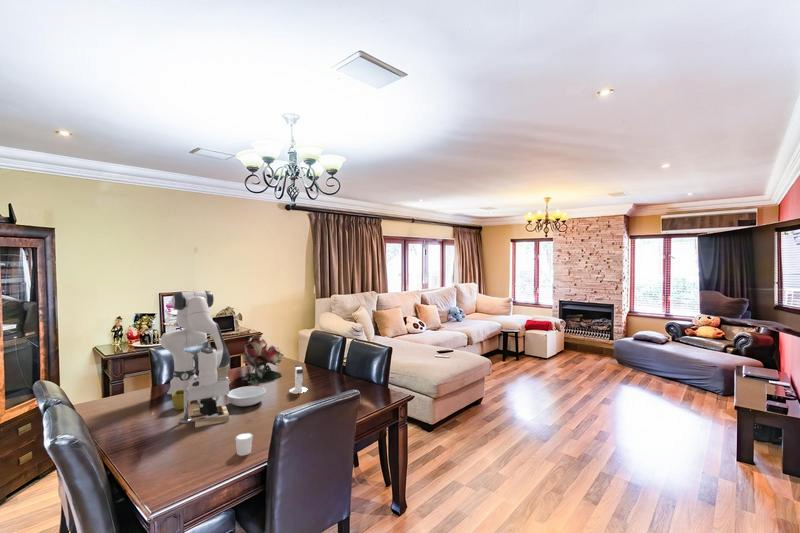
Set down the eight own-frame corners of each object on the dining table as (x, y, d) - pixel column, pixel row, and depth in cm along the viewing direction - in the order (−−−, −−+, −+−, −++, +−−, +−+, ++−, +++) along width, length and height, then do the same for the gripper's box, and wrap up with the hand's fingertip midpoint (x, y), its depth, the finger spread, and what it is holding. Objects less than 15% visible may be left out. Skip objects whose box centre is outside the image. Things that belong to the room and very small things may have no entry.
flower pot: (171, 411, 208) (171, 395, 208) (176, 406, 217) (176, 390, 216) (189, 410, 211) (189, 394, 210) (193, 404, 219) (193, 388, 219)
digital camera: (220, 411, 199) (217, 398, 198) (209, 416, 194) (207, 403, 194) (210, 408, 205) (208, 396, 205) (200, 413, 201) (198, 400, 200)
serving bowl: (252, 412, 209) (252, 399, 208) (218, 408, 213) (218, 396, 213) (272, 398, 229) (272, 387, 229) (241, 395, 233) (241, 384, 233)
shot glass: (254, 448, 168) (254, 432, 168) (249, 456, 161) (249, 439, 161) (239, 448, 168) (239, 432, 168) (232, 456, 161) (232, 440, 161)
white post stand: (309, 392, 239) (309, 368, 239) (290, 394, 235) (290, 370, 235) (306, 386, 250) (306, 363, 250) (288, 388, 246) (288, 365, 246)
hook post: (179, 420, 197) (179, 389, 197) (192, 417, 200) (192, 387, 200) (179, 427, 189) (179, 395, 189) (193, 424, 192) (193, 393, 192)
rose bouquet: (288, 374, 277) (288, 333, 276) (254, 385, 252) (254, 340, 251) (264, 369, 290) (264, 330, 289) (229, 379, 265) (229, 336, 264)
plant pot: (233, 387, 248) (233, 363, 248) (220, 395, 233) (220, 369, 233) (211, 386, 250) (211, 362, 249) (197, 394, 235) (197, 368, 234)
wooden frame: (193, 415, 204) (193, 409, 204) (224, 409, 212) (224, 403, 212) (195, 427, 189) (195, 421, 189) (229, 420, 197) (229, 415, 197)
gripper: (228, 374, 207) (229, 400, 208) (185, 381, 197) (186, 407, 197) (230, 378, 202) (230, 404, 202) (186, 384, 191) (186, 411, 192)
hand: (208, 405), depth 200 cm, fingers closed on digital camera, 5 cm apart
